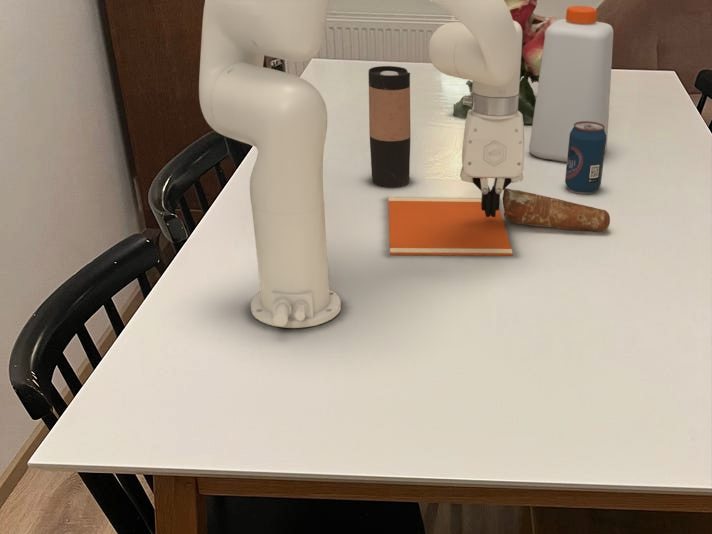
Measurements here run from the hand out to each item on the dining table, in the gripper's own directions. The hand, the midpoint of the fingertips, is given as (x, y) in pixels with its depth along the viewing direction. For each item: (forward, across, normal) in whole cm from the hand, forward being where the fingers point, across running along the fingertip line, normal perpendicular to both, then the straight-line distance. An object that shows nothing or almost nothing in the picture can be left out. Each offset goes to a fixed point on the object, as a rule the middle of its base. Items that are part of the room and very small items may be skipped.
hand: (489, 214), depth 161 cm
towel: (+2, -8, 0) cm, 8 cm away
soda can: (+2, +20, +19) cm, 28 cm away
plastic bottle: (+3, +22, +42) cm, 48 cm away
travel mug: (+2, -17, +23) cm, 28 cm away
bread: (+2, +11, 0) cm, 12 cm away
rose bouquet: (+3, +15, +76) cm, 78 cm away
